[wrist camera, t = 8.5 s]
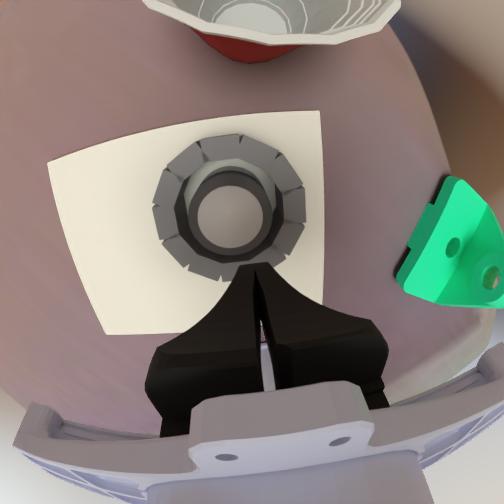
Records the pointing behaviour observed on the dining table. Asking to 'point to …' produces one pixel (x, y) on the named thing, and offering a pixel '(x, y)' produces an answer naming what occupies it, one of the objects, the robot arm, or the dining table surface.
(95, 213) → the board
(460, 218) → the camera mount
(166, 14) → the plastic cup
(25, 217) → the dining table surface
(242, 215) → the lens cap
